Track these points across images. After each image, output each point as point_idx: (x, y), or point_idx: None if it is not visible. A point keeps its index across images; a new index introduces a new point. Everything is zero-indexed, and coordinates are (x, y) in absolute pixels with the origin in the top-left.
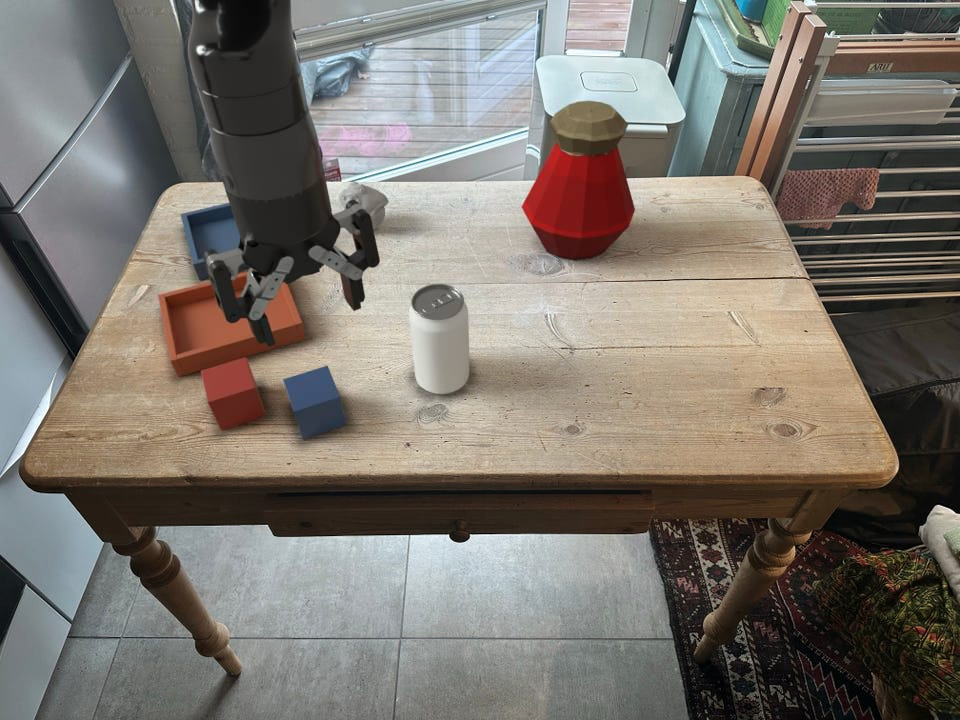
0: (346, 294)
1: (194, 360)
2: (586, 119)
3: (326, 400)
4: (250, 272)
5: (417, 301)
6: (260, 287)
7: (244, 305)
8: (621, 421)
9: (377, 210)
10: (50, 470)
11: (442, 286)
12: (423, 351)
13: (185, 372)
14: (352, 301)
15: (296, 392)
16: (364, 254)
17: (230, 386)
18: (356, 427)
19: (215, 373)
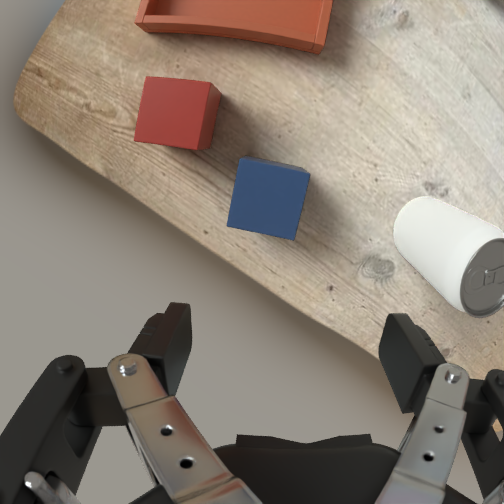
0: (394, 340)
1: (164, 26)
2: None
3: (274, 235)
4: (135, 435)
5: (478, 256)
6: (153, 483)
7: (112, 422)
8: (470, 362)
9: None
10: (20, 110)
11: None
12: (424, 270)
13: (153, 31)
14: (386, 368)
15: (245, 195)
16: (471, 446)
17: (168, 128)
18: (297, 233)
19: (160, 92)
